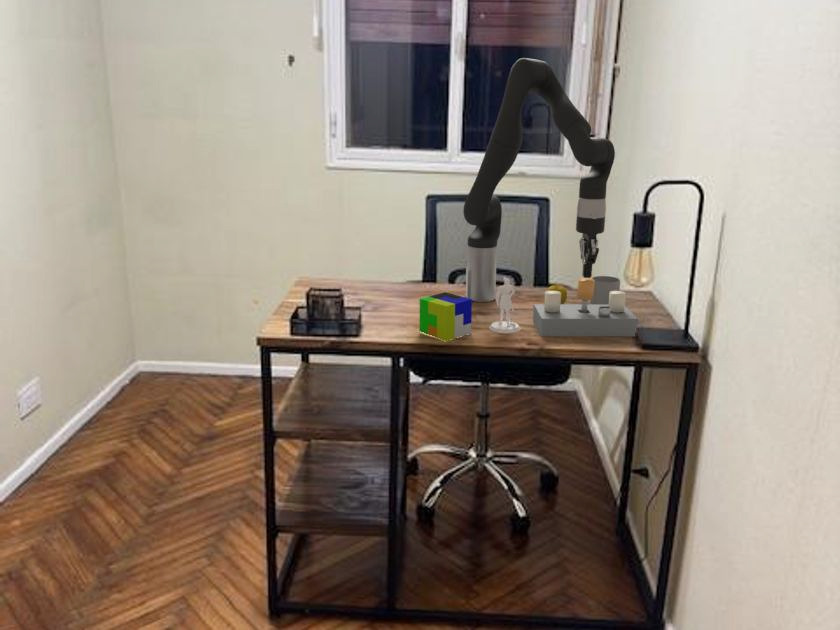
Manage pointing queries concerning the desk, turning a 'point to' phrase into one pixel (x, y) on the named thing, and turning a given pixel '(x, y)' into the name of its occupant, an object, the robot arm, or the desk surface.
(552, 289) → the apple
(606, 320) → the panel
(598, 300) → the cup
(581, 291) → the knob middle
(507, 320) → the figurine
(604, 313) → the dial
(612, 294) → the knob right
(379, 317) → the desk surface
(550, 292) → the knob left
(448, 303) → the puzzle toy
